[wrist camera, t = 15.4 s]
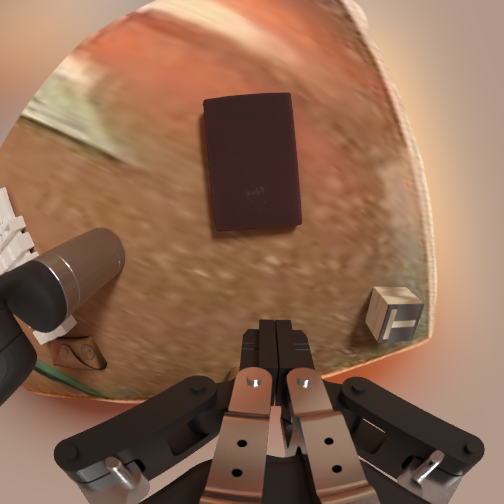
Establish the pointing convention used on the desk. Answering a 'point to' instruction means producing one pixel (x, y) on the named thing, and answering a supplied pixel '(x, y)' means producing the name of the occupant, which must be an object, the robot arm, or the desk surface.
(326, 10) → the desk surface
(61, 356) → the sunglasses case
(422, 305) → the maple block
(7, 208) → the organizer
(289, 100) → the book
